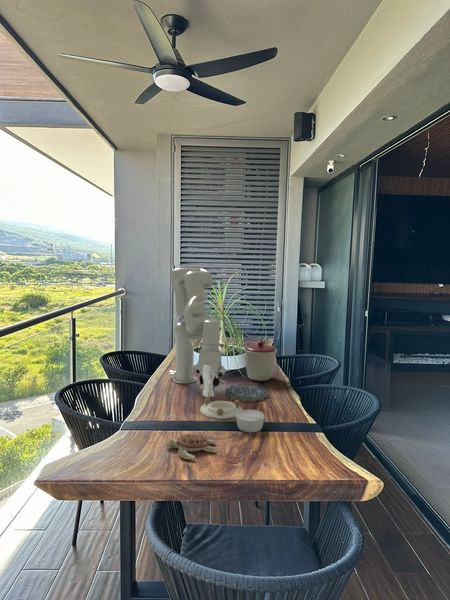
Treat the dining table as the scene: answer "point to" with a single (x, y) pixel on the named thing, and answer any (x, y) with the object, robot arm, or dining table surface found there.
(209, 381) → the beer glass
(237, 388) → the decorative tile
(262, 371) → the canister
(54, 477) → the dining table surface
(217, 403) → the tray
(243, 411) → the ramekin
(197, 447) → the decorative turtle
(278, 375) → the dining table surface
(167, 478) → the dining table surface
